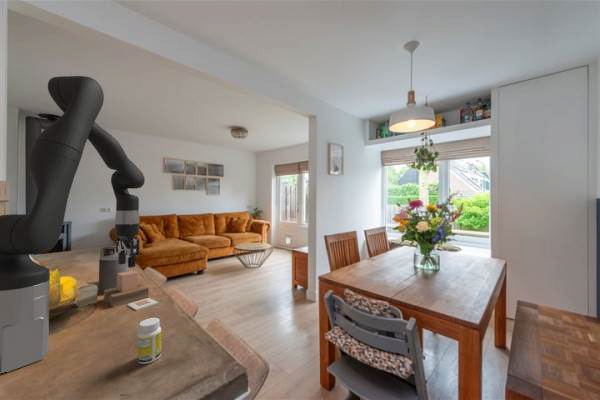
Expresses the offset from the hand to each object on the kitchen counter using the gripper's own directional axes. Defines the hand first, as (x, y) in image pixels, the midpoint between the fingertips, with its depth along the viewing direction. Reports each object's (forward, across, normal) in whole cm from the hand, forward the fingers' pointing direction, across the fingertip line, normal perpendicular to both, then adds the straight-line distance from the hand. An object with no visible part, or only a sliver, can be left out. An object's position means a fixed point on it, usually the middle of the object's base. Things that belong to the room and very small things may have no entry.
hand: (126, 265), depth 91 cm
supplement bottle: (+13, +45, -12) cm, 48 cm away
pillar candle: (+13, -15, +1) cm, 20 cm away
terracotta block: (+9, 0, 0) cm, 9 cm away
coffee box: (+12, -27, +5) cm, 30 cm away
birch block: (+12, -7, -10) cm, 17 cm away
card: (+12, +11, +1) cm, 17 cm away
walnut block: (+13, 0, 0) cm, 13 cm away
